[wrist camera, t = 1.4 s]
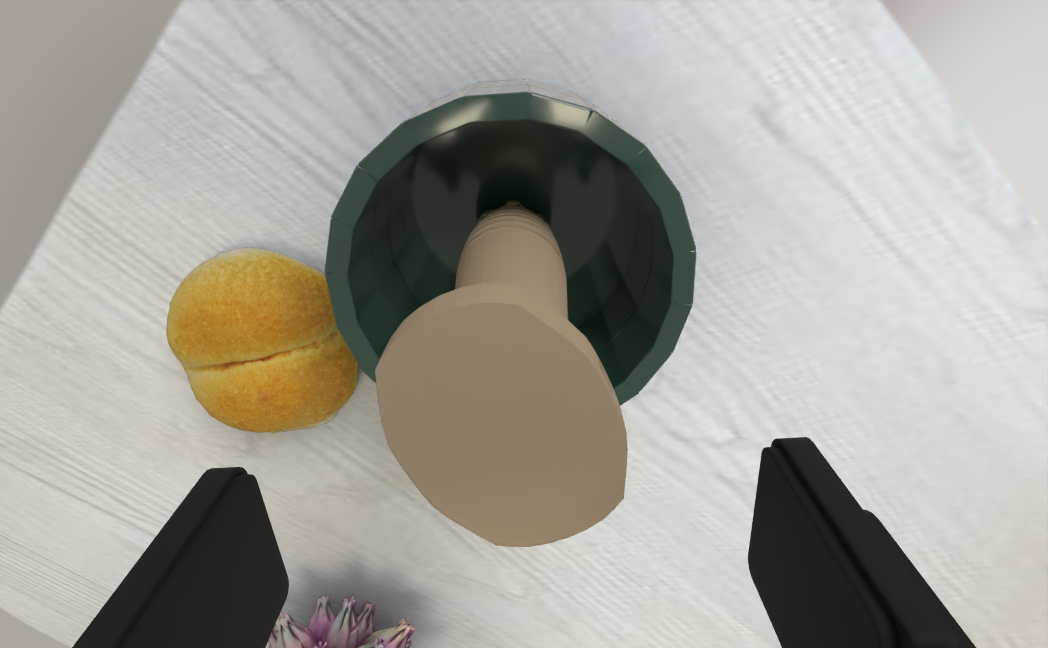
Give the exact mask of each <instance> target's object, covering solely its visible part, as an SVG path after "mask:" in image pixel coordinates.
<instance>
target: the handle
mask: <svg viewBox="0 0 1048 648" xmlns="http://www.w3.org/2000/svg"><path fill="white" fill-rule="evenodd" d="M375 375H376V384H377V392H378V400H379V407H380V413H381V420H382V426H383V429H384V433H385V436H386V439H387V443H388V445H389V447H390V449H391V450H392V452H393V454H394V456H395V457H396V459H397V461H398V462H399V464H400V465H401V466H402V468H403V469H404V471H405V472H406V473H407V475H408V476H409V477H410V479H411V480H412V481H413V483H414V484H415V486H416V487H417V488H418V490H419V491H420V492H421V494H422V495H423V496H424V497H425V498H426V499H427V500H428V501H429V503H430V504H431V505H432V506H433V507H434V508H435V509H437V510H438V511H440V512H441V513H442V514H444V515H445V516H446V517H448V518H449V519H451V520H452V521H454V522H456V523H457V524H459V525H461V526H462V527H464V528H466V529H468V530H469V531H471V532H473V533H475V534H477V535H478V536H480V537H482V538H484V539H486V540H487V541H489V542H491V543H493V544H495V545H497V546H508V547H530V546H536V545H542V544H548V543H552V542H555V541H558V540H562V539H565V538H568V537H571V536H573V535H575V534H577V533H580V532H582V531H584V530H587V529H588V528H590V527H592V526H593V525H595V524H596V523H598V522H600V521H601V520H603V519H604V518H605V517H606V516H607V515H608V514H610V513H611V512H612V511H613V510H614V509H615V508H616V506H617V505H618V504H619V503H620V502H621V501H622V499H623V498H624V488H625V478H626V466H627V451H628V450H627V437H626V429H625V425H624V421H623V417H622V413H621V409H620V405H619V402H618V399H617V396H616V394H615V391H614V389H613V387H612V384H611V382H610V380H609V378H608V376H607V374H606V371H605V369H604V367H603V365H602V363H601V361H600V359H599V357H598V356H597V354H596V352H595V350H594V348H593V347H592V345H591V344H590V342H589V341H588V339H587V338H586V336H584V335H583V334H582V333H581V332H580V331H579V330H578V329H577V328H576V327H575V326H574V325H573V324H571V323H570V322H569V321H568V310H567V282H566V273H565V268H564V264H563V259H562V255H561V252H560V249H559V247H558V244H557V242H556V239H555V237H554V235H553V233H552V231H551V228H550V225H549V223H548V221H547V220H546V218H545V217H544V216H543V215H542V214H536V213H534V212H533V211H531V210H529V209H526V208H525V207H524V206H523V205H522V204H521V203H520V201H519V200H516V199H509V200H507V202H506V203H505V204H504V205H503V206H501V207H500V208H497V209H495V210H486V211H485V212H484V213H483V214H482V215H481V217H480V218H479V220H478V222H477V225H476V226H475V227H474V228H473V230H472V232H471V233H470V235H469V237H468V239H467V241H466V243H465V245H464V248H463V251H462V254H461V257H460V261H459V265H458V269H457V274H456V284H455V290H453V291H450V292H447V293H445V294H442V295H440V296H438V297H436V298H434V299H433V300H431V301H429V302H427V303H426V304H424V305H422V306H421V307H419V308H418V309H417V310H415V311H414V312H413V313H412V314H411V315H409V316H408V317H407V318H406V319H405V320H404V321H403V322H402V323H401V325H400V326H399V327H398V328H397V330H396V331H395V332H394V334H393V335H392V337H391V338H390V340H389V342H388V344H387V346H386V348H385V350H384V352H383V354H382V356H381V358H380V360H379V362H378V364H377V367H376V369H375Z"/></svg>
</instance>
